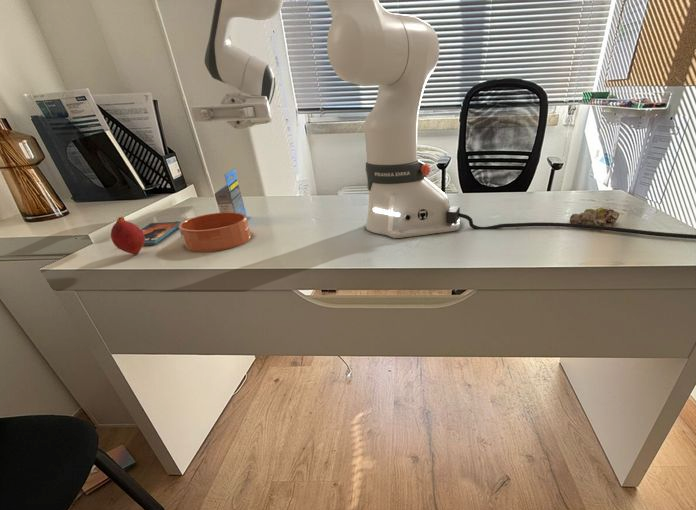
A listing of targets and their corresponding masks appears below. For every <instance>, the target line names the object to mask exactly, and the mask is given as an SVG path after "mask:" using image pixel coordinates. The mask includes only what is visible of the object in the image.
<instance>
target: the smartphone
mask: <svg viewBox="0 0 696 510" xmlns="http://www.w3.org/2000/svg"><path fill="white" fill-rule="evenodd" d="M182 222H183V221H166V222H163V221H162V222H151V223H148V224H147V225H146V226H144V227H142V228H141V231H142V232H143V234H144V237H145V244H144V245H143V246H155V245H158V244H159V243H160V242H161V241H162V240H164V239H165V238H167V237H168V236H169V235H170V234H172V233H173V232H175V231H176V230H177V229H179V228H178V227H179V224H180V223H182Z"/></svg>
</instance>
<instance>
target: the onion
mask: <svg viewBox="0 0 696 510" xmlns="http://www.w3.org/2000/svg"><path fill="white" fill-rule="evenodd" d="M141 229H142V228H141ZM141 229H140V227H138V226H137V225H136V224H135V223H133V222H130V221H129V220H128V221H127V220H125V217H124V216H123V215H121V216H118V217H117V219H116V222H115V223H113V225H112V228H111V231H110V239H111V242H112V243H113V245H114V246H115V247H116V248H117V249H119V250H120V251H122V252H125V253H128V254H130V255H134V256H135V255H138V254H139V253H140V252H141V250H142V248H143V247H144V246H145V245H144V244H145V237H144V234H143V232H142V231H141Z"/></svg>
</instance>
